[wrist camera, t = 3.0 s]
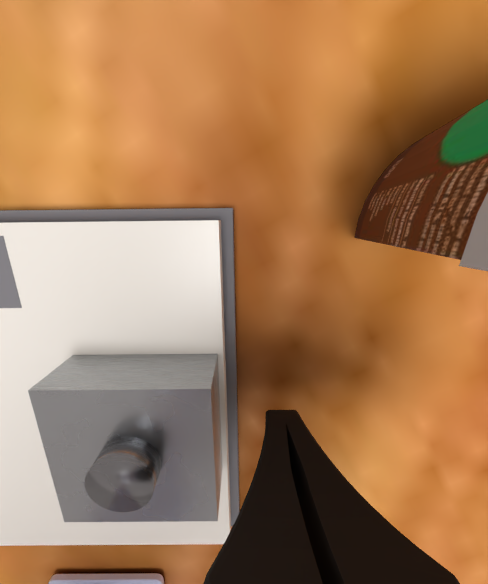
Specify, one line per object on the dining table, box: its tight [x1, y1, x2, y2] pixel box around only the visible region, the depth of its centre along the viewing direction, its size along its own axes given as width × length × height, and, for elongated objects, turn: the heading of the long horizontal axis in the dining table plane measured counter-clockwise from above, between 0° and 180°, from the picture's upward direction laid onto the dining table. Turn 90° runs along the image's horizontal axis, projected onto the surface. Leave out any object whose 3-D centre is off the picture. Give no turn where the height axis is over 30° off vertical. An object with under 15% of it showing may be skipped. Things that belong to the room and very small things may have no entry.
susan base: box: [0, 208, 240, 526], centre depth 14 cm, size 19×19×1 cm
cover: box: [28, 354, 223, 522], centre depth 11 cm, size 6×6×4 cm
